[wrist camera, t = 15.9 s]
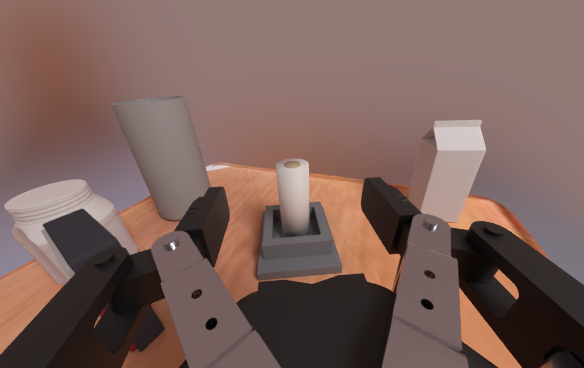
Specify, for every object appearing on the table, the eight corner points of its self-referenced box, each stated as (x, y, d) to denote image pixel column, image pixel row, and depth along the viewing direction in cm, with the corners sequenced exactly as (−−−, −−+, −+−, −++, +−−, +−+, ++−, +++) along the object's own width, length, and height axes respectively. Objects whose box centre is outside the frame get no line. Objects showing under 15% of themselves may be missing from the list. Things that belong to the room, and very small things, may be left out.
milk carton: (457, 223, 40) (496, 124, 31) (417, 221, 42) (444, 125, 33) (440, 203, 46) (469, 115, 37) (406, 201, 48) (426, 117, 39)
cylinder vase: (175, 195, 57) (138, 98, 45) (220, 192, 57) (194, 94, 45) (149, 224, 46) (91, 106, 34) (205, 220, 46) (166, 101, 34)
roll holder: (258, 280, 32) (253, 259, 30) (264, 216, 46) (261, 200, 44) (341, 272, 32) (343, 251, 30) (322, 212, 46) (322, 194, 44)
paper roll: (282, 244, 36) (275, 172, 29) (282, 225, 40) (276, 159, 33) (311, 242, 36) (310, 170, 29) (307, 224, 40) (306, 157, 34)
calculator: (100, 309, 29) (30, 227, 22) (134, 285, 32) (82, 206, 25) (134, 360, 24) (54, 271, 16) (170, 325, 27) (117, 238, 20)
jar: (148, 252, 39) (110, 181, 32) (90, 299, 31) (21, 219, 24) (108, 240, 42) (66, 174, 35) (47, 279, 34) (-23, 205, 27)
